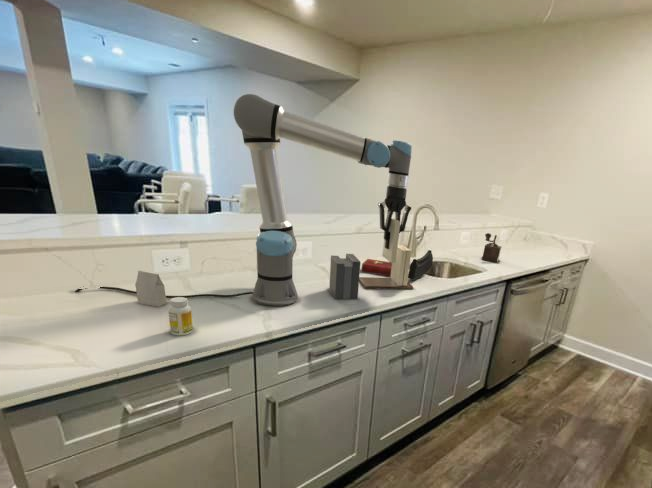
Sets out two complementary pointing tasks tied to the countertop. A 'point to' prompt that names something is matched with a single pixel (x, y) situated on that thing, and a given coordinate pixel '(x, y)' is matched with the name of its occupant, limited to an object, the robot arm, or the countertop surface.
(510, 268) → the countertop surface
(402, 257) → the white books
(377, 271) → the hardcover book
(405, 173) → the robot arm
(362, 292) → the countertop surface
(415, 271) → the magazine
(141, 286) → the grey stone
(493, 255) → the manual coffee grinder
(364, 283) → the shelf board
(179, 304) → the supplement bottle
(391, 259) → the white book
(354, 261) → the grey books
